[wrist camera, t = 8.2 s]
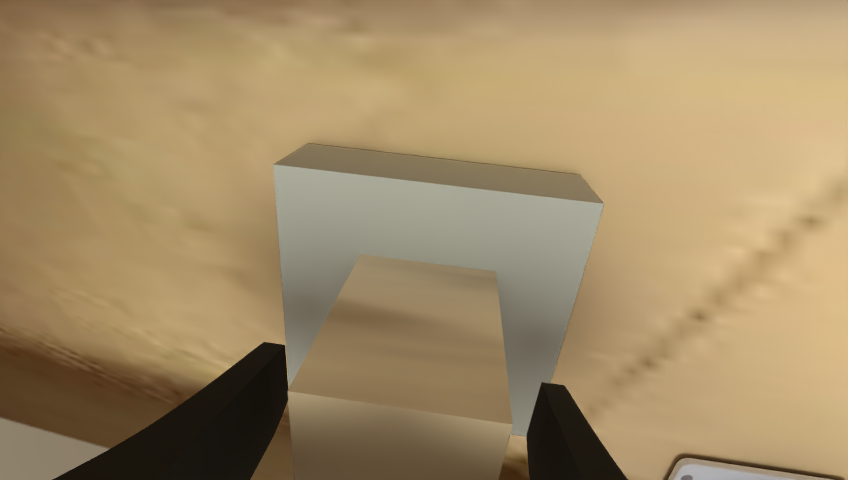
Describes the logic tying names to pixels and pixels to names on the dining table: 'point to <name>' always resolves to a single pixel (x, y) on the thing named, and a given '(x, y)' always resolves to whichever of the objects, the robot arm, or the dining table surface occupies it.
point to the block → (404, 378)
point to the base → (437, 242)
